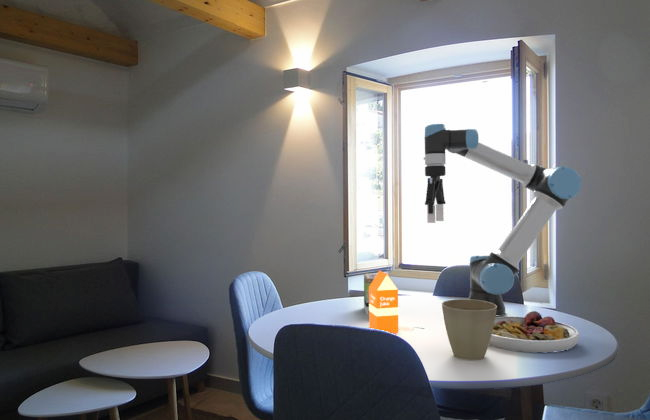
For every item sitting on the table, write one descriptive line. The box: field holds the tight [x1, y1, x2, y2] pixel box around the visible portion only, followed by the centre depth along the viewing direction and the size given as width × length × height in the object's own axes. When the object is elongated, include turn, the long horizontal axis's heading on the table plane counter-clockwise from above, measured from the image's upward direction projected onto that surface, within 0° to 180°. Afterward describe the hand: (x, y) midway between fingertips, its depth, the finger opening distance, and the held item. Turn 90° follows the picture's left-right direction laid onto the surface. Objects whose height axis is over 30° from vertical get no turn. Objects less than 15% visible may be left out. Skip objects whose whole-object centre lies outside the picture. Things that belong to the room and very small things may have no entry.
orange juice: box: [368, 270, 399, 334], centre depth 175 cm, size 8×9×20 cm
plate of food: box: [489, 310, 580, 353], centre depth 161 cm, size 30×30×8 cm
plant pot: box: [441, 298, 497, 361], centre depth 144 cm, size 15×15×16 cm
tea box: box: [363, 273, 391, 316], centre depth 208 cm, size 15×10×15 cm
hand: (435, 222), depth 194 cm, fingers open, 13 cm apart
